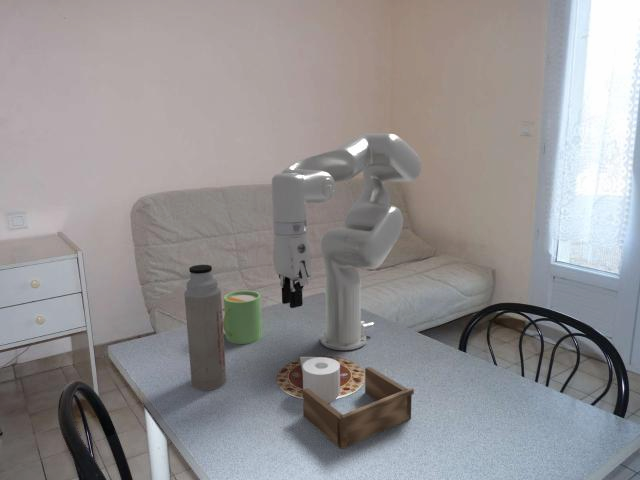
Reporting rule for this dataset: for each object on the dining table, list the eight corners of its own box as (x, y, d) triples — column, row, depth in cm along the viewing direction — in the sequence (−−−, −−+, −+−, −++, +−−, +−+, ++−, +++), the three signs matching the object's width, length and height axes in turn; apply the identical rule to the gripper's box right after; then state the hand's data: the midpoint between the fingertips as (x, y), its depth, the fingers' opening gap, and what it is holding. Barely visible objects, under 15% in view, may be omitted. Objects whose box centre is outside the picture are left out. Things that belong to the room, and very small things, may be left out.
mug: (243, 326, 151) (240, 288, 149) (269, 334, 145) (267, 294, 143) (211, 341, 141) (208, 300, 139) (238, 350, 135) (235, 307, 133)
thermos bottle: (231, 375, 122) (224, 262, 116) (218, 392, 114) (210, 272, 108) (200, 372, 123) (192, 261, 117) (185, 389, 116) (175, 270, 110)
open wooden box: (369, 391, 113) (369, 363, 112) (413, 419, 102) (413, 389, 101) (303, 416, 104) (302, 386, 102) (343, 450, 93) (343, 417, 91)
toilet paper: (304, 379, 120) (303, 351, 118) (346, 390, 114) (346, 362, 112) (284, 394, 113) (283, 365, 111) (328, 408, 107) (328, 377, 106)
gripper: (323, 231, 111) (324, 311, 115) (286, 221, 124) (288, 292, 128) (294, 236, 107) (296, 318, 111) (258, 224, 120) (262, 298, 124)
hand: (292, 304), depth 119 cm, fingers open, 2 cm apart
